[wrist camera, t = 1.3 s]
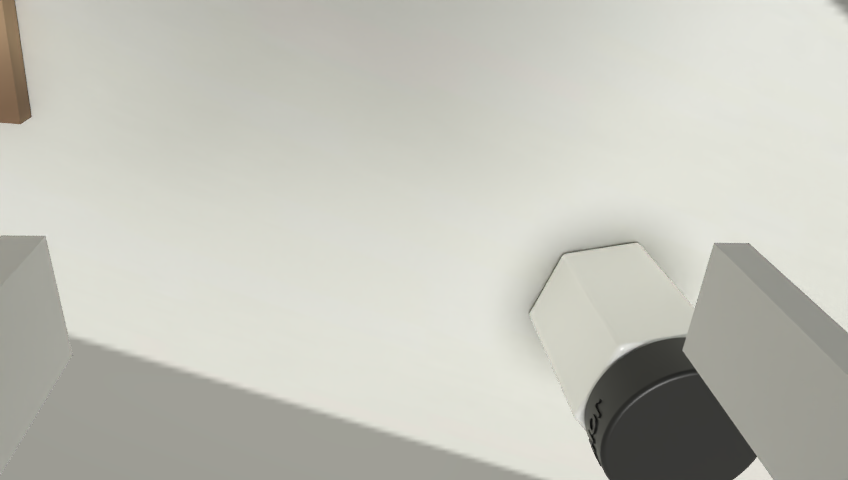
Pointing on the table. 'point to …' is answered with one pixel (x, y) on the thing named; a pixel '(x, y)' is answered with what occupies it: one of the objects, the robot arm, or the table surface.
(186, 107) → the table surface
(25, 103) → the shaft base
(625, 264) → the jar
